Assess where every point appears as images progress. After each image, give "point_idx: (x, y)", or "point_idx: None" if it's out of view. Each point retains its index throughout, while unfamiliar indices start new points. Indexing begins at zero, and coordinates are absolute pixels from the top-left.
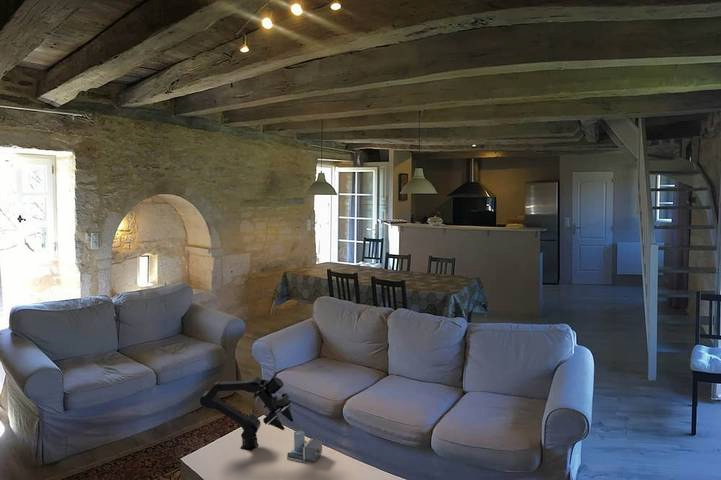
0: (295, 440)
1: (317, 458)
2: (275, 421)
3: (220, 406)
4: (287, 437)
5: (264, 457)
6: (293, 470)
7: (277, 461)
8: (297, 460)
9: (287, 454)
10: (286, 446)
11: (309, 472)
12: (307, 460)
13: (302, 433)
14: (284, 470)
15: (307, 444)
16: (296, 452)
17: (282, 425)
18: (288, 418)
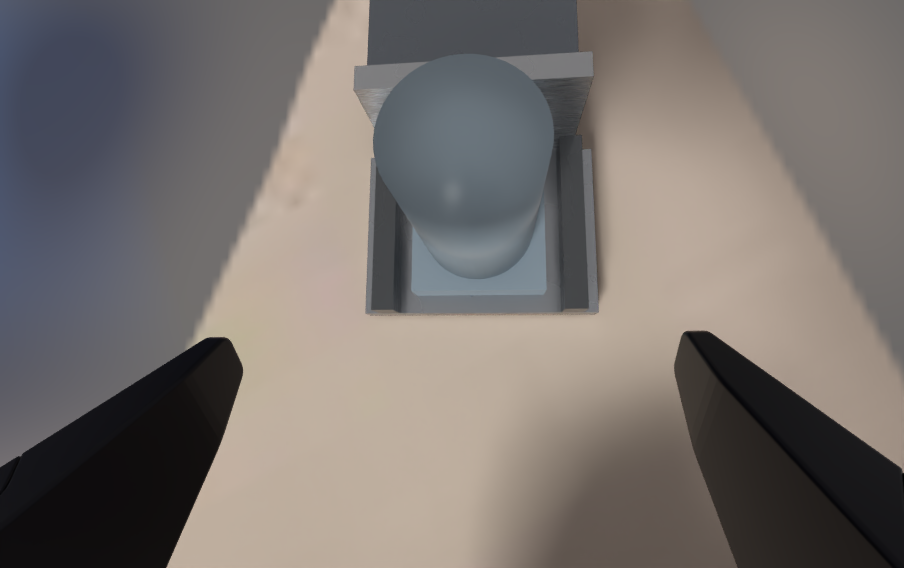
0: (539, 199)
1: None
2: None
3: None
4: (220, 505)
5: (657, 554)
6: (730, 171)
7: (663, 383)
8: (591, 198)
9: (586, 309)
10: (381, 431)
11: (693, 37)
12: None
13: (459, 83)
14: (770, 245)
15: (511, 60)
16: (535, 228)
17: (754, 395)
18: (189, 480)
